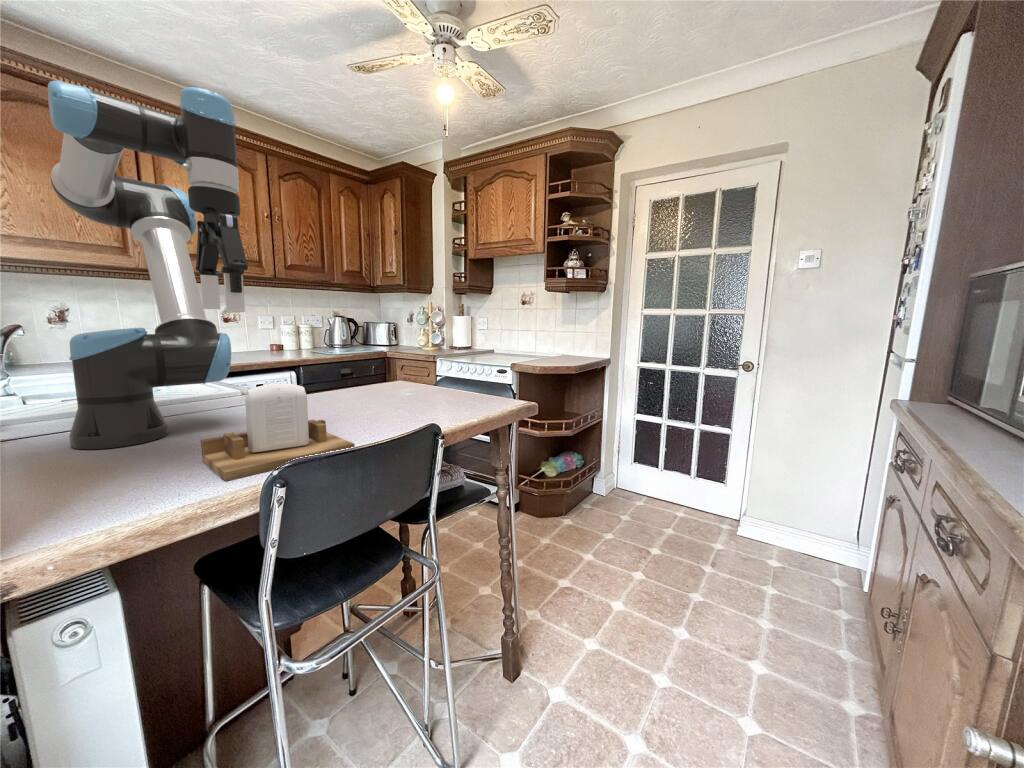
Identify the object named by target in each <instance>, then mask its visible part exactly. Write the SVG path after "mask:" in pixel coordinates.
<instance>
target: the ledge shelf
mask: <svg viewBox="0 0 1024 768" xmlns="http://www.w3.org/2000/svg"><path fill="white" fill-rule="evenodd" d="M308 429H309V444H308V445H305V446H297V447H290V448H283V449H276V450H269V451H262V452H255V453H252V452H249V450H248V435H247V431H246V432H240V433H235V432H228V433H223V435H222V436H218V437H217V436H216V437H211V438H205V439H200V449H201V459H202V463H204V464H205V465H206V466H207V467H209V469H211V470H212V472H214V473H215V474H216V475H218V476H219V477H220V478H221V479H222V480H223V481H224V482H228V481H233V480H239V479H241V478H245V477H250V476H254V475H255V476H256V475H259V474H262V473H266V472H271V471H272V472H273V471H274V470H275V469H276V468H277V467H279V466H281V465H283V464H285V463H286V462H288V461H291V460H293V459H296V458H300V457H305V456H309V455H315V454H321V453H326V452H330V451H336V450H341V449H346V448H351V447H355V443H354V442H352V441H349V440H346V439H344V438H341V437H339V436H336V435H334V434H332V433H329V432H327V424H326V420H324V419H319V420H315V419H308ZM276 470H277V469H276ZM276 470H275V471H276Z"/></svg>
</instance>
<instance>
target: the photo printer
mask: <svg viewBox="0 0 1024 768" xmlns="http://www.w3.org/2000/svg"><path fill="white" fill-rule="evenodd" d="M246 394H247V395H246V396H245V398H244V399H245V400H244V402H245V404H244V406H245V416H246V418H245V419H246V432H247V435H248V450H249V452H252V453H255V452H262V451H269V450H276V449H283V448H290V447H297V446H305V445H308V444H309V429H308V420H309V410H308V396H307V392H306V389H305V387H304V386H303V385H298V384H294V383H282V382H281V383H278V382H277V383H268V384H263V385H260V386H259V385H258V386H255V387H252V388H249V389H248V390H246Z"/></svg>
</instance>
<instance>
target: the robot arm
mask: <svg viewBox="0 0 1024 768" xmlns="http://www.w3.org/2000/svg"><path fill="white" fill-rule="evenodd" d="M179 94H180V101H179V105H178V106H179V108H180V112H181V113H180V116H178V115H175V114H174V115H173V114H171V113H169V112H163V111H162V110H157V109H155V108H151V107H148V106H144V105H142V104H138V103H134V102H131V101H129V100H125V99H122V98H118V97H114V96H112V95H108V94H106V93H102V92H99V91H96V90H93V89H90V88H88V87H86V86H83V85H75V84H72V83H68V82H65V81H64V82H63V81H60V80H51V81H49V82H48V83H47V101H48V108H49V116H50V120H51V124H52V126H53V128H54V129H56V130H57V131H58V132H60V133H62V134H63V137H62V145H61V150H60V151H61V152H60V160H59V162H58V163H56V164H55V165H54V166H53V167H52V169H51V172H50V184H51V187H52V188H53V191H54V193H55V194H56V196H57V197H58V199H60V200H61V201H62V202H63V203H64V204H65V205H66V206H67V207H69V208H70V209H71V210H73V211H74V212H75V213H77V214H79V215H80V216H81V217H84V218H85V219H88V220H90V221H93V222H96V223H98V224H102V225H104V226H105V225H106V226H110V227H115V228H123V229H130V234H131V235H132V236H133V239H135V240H136V241H137V242H140V243H141V244H142V249H143V252H144V257H145V261H146V266H147V270H148V273H149V277H150V278H149V279H150V282H151V285H152V290H153V295H154V299H155V303H156V307H157V311H158V316H159V320H160V324H158V325H157V326H156V327H155V329H154V334H153V333H152V334H150V333H148V331H147V330H146V328H144V327H132V328H131V327H130V328H117V329H109V330H108V329H107V330H97V331H92V332H91V331H89V332H84V333H83V332H82V333H79V334H75V335H73V336H72V337H71V338H70V340H69V354H70V356H69V358H68V359H69V361H71V363H72V366H71V367H72V373H73V382H74V388H75V389H74V390H75V395H76V401H77V402H76V403H77V410H76V413H75V417H74V419H73V422H72V426H71V429H70V433H69V443H70V447H71V448H72V449H78V450H102V449H103V450H104V449H112V448H120V447H128V446H134V445H135V446H136V445H139V444H142V443H143V444H144V443H149V442H152V441H155V440H158V439H161V438H164V437H166V436H167V435H168V434H169V429H168V423H167V421H166V419H165V418H164V416H163V414H162V412H161V410H160V409H159V407H158V405H157V403H156V401H155V396H154V390H153V389H154V388H159V387H160V388H161V387H173V386H174V387H175V386H186V385H187V386H188V385H198V384H203V385H206V384H208V383H215V382H221V381H223V380H225V379H226V378H227V376H228V374H229V373H230V368H231V362H232V345H231V343H232V342H231V339H230V337H229V335H228V334H227V333H225V332H218V328H217V325H216V324H215V323H214V322H213V321H212V320H209V319H207V317H206V314H205V310H221V301H220V300H221V299H220V298H221V297H220V286H219V277H220V276H221V274H220V272H221V273H223V285H224V287H223V288H224V298H225V299H224V301H225V312H228V313H229V312H231V313H245V312H246V307H245V306H246V304H245V303H246V302H245V293H244V292H245V289H244V287H245V286H244V273H245V271H247V270H248V268H249V265H248V262H247V258H246V254H245V250H244V247H243V243H242V238H241V233H240V230H239V223H238V221H239V219H238V217H240V216H241V203H240V201H241V199H240V196H239V195H238V194H237V193H239V191H240V181H239V179H240V178H239V168H238V160H237V159H238V158H237V157H238V156H237V141H236V126H237V123H236V121H235V116H234V115H235V114H234V113H235V112H234V107H233V105H232V103H231V102H230V101H229V100H228V99H227V98H226V97H224V96H223V95H221V94H219V93H217V92H216V91H215V92H214V91H211V90H209V89H206V88H202V87H194V86H189V87H185V88H182V89H181V90H180V93H179ZM124 149H126V150H130V151H135V152H139V153H144V154H147V155H152V156H156V157H159V158H164V159H167V160H171V161H173V162H174V163H176V164H177V165H179V166H180V167H182V168H183V169H184V170H185V171H187V172H186V176H187V177H186V178H187V183H188V184H189V185H190V186H189V187H188V188H187V193H186V192H185V191H183V190H182V189H179V188H176V187H172V186H169V185H166V184H163V183H160V184H156V183H152V182H147V181H142V180H138V179H132V178H128V177H124V176H119V175H115V174H116V173H117V172H116V171H117V168H118V166H119V163H120V161H121V157H122V155H123V152H124ZM187 194H188V195H187ZM195 212H197V213H201V214H202V215H203V220H197V219H196V216H195V214H196V213H195ZM196 230H197V240H196V241H197V243H196V258H195V261H196V262H195V271H197V272H198V273H199V277H200V290H201V294H200V291H199V287H198V283H197V280H196V274H195V272H194V267H193V264H192V260H191V256H190V253H189V249H188V245H187V243H188V242H189V241H190V239H191V237H192V236H194V235H195V233H196ZM219 258H220V259H221V262H222V264H223V266H221V270H220V272H219V270H217V268H218V263H219Z"/></svg>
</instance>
